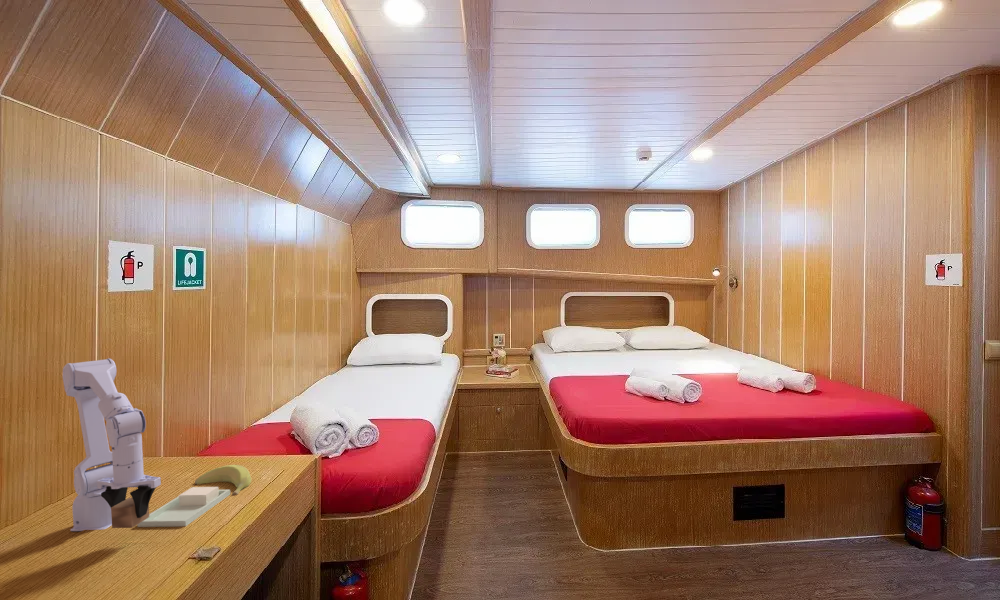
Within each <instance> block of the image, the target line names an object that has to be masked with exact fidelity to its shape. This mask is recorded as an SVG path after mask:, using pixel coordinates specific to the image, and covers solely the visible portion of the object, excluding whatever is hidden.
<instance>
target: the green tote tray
mask: <svg viewBox="0 0 1000 600" xmlns="http://www.w3.org/2000/svg"><path fill="white" fill-rule="evenodd" d="M218 490H219V496H218V497H216V498H215V499H213V500H212V501H210V502H209V503H208V504H206V505H193V506H179V495H178V496H176V497H175V498H173V499H172V500H170V501H168V502H167V503H166V504H164V505H162V506H161V507H159V508H157V509H156V510H154V511H151V512H149V518H147V519H145V520H144V521H142V522H141V523H139V524H137V525H136V527H137V528H157V527H163V528H164V527H165V528H167V527H169V528H170V527H171V528H172V527H175V528H176V527H188V526H189V525H190V524H191V523H193V522H194V521H195V520H197V519H198V518H200V517H202V515H204V514H205V513H207V512H208V511H209V510H211V509H212V508H213V507H215V506H216V505H218V504H219V503H220V502H222V501H223V500H224V499H226V498H228V497H229V496H230V495H231V489H218Z"/></svg>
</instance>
